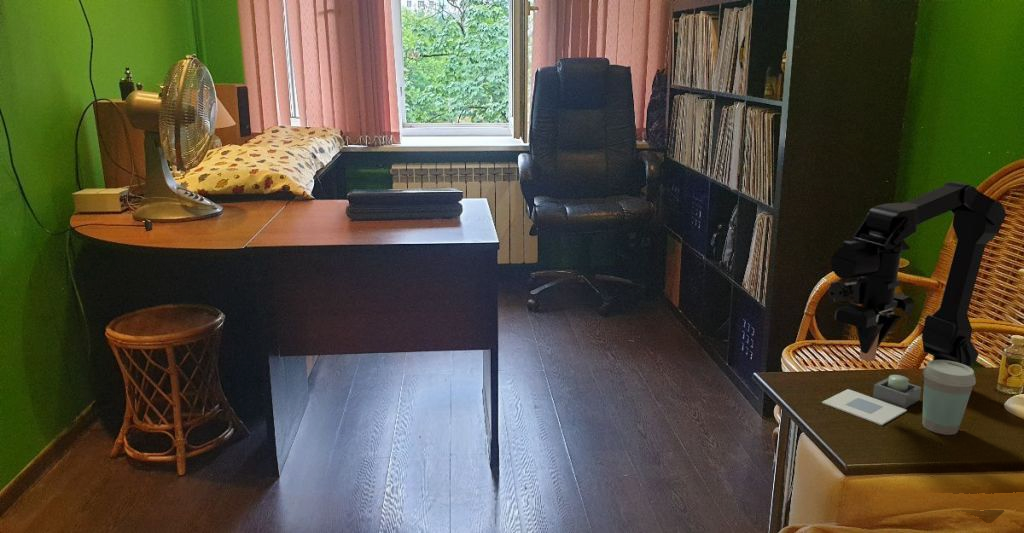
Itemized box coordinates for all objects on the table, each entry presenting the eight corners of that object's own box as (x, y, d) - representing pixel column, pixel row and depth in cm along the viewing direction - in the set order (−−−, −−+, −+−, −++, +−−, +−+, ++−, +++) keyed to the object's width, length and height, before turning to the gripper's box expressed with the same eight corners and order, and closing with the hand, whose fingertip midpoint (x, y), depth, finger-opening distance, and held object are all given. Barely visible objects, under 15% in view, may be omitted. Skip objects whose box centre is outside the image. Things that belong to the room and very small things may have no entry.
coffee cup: (973, 440, 138) (985, 379, 135) (921, 435, 140) (932, 374, 137) (956, 419, 146) (967, 360, 143) (908, 415, 148) (918, 356, 145)
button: (892, 384, 157) (894, 373, 156) (910, 390, 154) (912, 379, 153) (884, 388, 155) (885, 377, 154) (902, 394, 152) (904, 383, 151)
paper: (847, 390, 158) (847, 388, 158) (906, 411, 149) (907, 409, 149) (821, 403, 152) (822, 401, 152) (881, 425, 143) (882, 423, 143)
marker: (863, 354, 152) (869, 320, 150) (878, 359, 149) (883, 325, 147) (856, 357, 150) (861, 323, 148) (870, 362, 148) (875, 327, 146)
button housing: (887, 389, 159) (889, 376, 158) (919, 400, 154) (921, 387, 154) (872, 397, 155) (874, 384, 155) (904, 408, 151) (906, 395, 150)
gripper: (865, 257, 157) (854, 330, 161) (814, 270, 146) (803, 348, 150) (920, 270, 148) (908, 346, 152) (871, 285, 137) (858, 366, 141)
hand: (868, 351), depth 149 cm, fingers closed on marker, 3 cm apart
